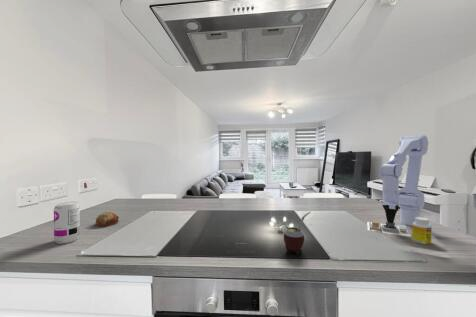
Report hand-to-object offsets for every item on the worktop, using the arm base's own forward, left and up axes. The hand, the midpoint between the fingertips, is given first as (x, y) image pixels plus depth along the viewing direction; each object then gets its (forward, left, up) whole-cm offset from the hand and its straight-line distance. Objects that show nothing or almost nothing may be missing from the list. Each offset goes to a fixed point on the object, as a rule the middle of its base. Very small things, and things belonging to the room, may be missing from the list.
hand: (390, 221), depth 92 cm
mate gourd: (+39, -31, -5) cm, 50 cm away
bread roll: (+56, -122, -6) cm, 134 cm away
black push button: (0, 0, -2) cm, 2 cm away
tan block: (+1, -5, -4) cm, 7 cm away
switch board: (-2, -1, -5) cm, 6 cm away
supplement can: (+76, -114, -5) cm, 137 cm away
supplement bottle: (+8, +9, -5) cm, 14 cm away
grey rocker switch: (-1, +5, -2) cm, 5 cm away
